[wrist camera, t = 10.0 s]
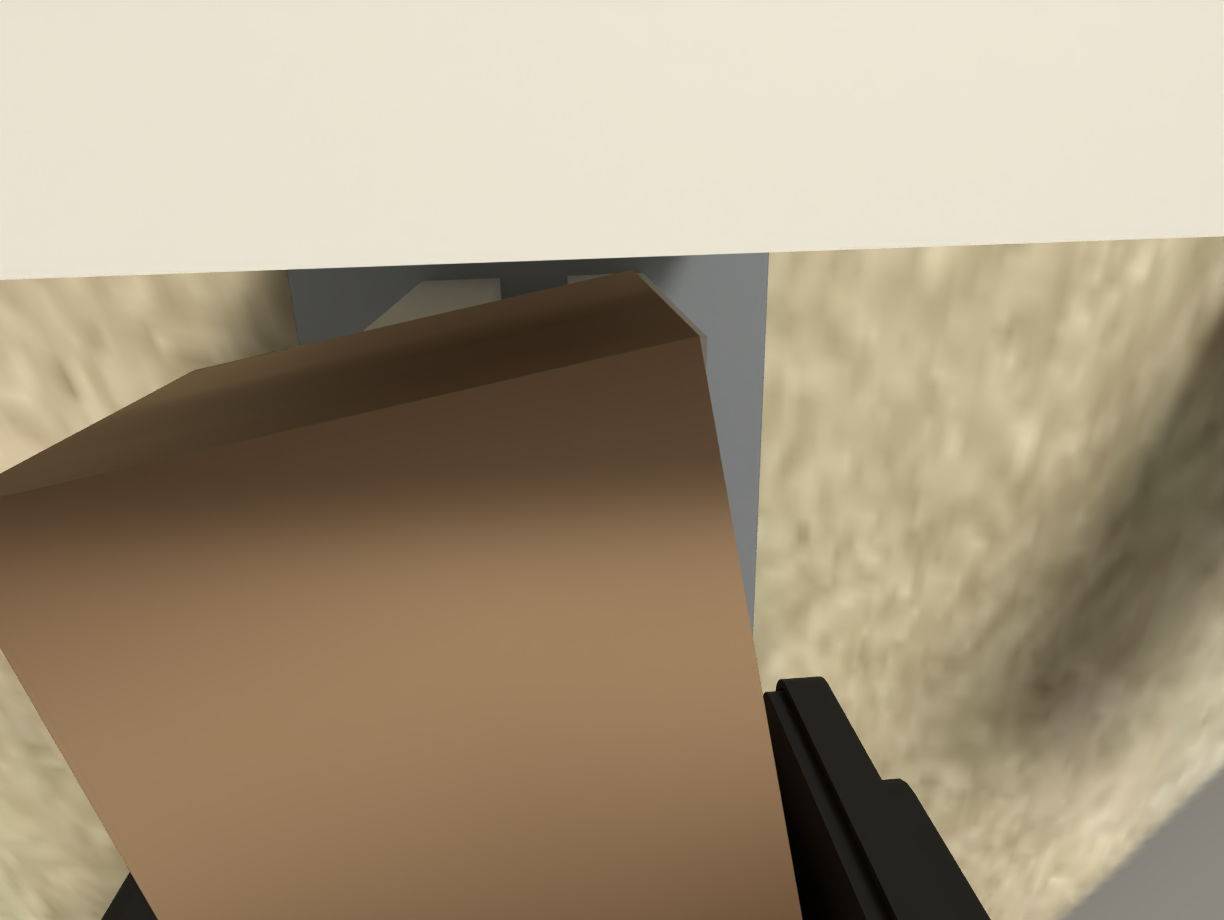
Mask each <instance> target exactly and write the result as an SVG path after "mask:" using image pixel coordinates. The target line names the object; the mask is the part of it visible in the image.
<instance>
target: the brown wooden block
mask: <svg viewBox="0 0 1224 920" xmlns="http://www.w3.org/2000/svg"><path fill="white" fill-rule="evenodd" d="M0 648H1V650H2V652H3V653H4V655H5V657H6V658H7V660H8V662H9V664H10V665H11V667H12V669H13V670H14V672H15V674H16V676H17V677H18V679H19V681H20V683H21V684H22V686H23V688H24V689H25V691H26V693H27V695H28V696H29V698H30V700H31V702H32V703H33V705H34V707H35V708H36V710H37V712H38V714H39V715H40V717H41V719H42V720H43V722H44V724H45V726H46V727H47V729H48V731H49V733H50V734H51V736H52V738H53V739H54V741H55V743H56V745H57V746H58V748H59V750H60V752H61V753H62V755H63V757H64V758H65V760H66V762H67V764H68V765H69V767H70V769H71V770H72V772H73V774H74V776H75V777H76V779H77V781H78V783H79V784H80V786H81V788H82V789H83V791H84V793H85V795H86V796H87V798H88V800H89V802H90V803H91V805H92V807H93V808H94V810H95V812H96V814H97V815H98V817H99V819H100V820H101V822H102V824H103V826H104V827H105V829H106V831H107V833H108V834H109V836H110V838H111V839H112V841H113V843H114V845H115V846H116V848H117V850H118V852H119V853H120V855H121V857H122V858H123V860H124V862H125V864H126V865H127V867H128V869H129V870H130V872H131V874H132V876H133V877H134V879H135V881H136V883H137V884H138V886H139V888H140V889H141V891H142V893H143V895H144V896H145V898H146V900H147V902H148V903H149V905H150V907H151V908H152V910H153V912H154V914H155V915H156V917H157V919H158V920H802V914H801V908H800V903H799V897H798V891H797V886H796V880H795V874H794V869H793V863H792V857H791V852H790V846H789V840H788V835H787V829H786V823H785V818H784V812H783V806H782V801H781V795H780V789H779V784H778V778H777V772H776V767H775V761H774V755H773V750H772V744H771V738H770V733H769V727H768V721H767V716H766V710H765V704H764V699H763V693H762V687H761V682H760V676H759V670H758V665H757V659H756V653H755V648H754V642H753V636H752V631H751V625H750V619H749V614H748V608H747V602H746V597H745V591H744V585H743V580H742V574H741V568H740V563H739V557H738V551H737V546H736V540H735V534H734V529H733V523H732V517H731V512H730V506H729V500H728V495H727V489H726V483H725V478H724V472H723V466H722V461H721V455H720V449H719V444H718V438H717V432H716V427H715V421H714V415H713V410H712V404H711V398H710V393H709V387H708V381H707V376H706V370H705V364H704V359H703V353H702V347H701V342H700V336H699V335H698V334H697V333H696V332H695V331H694V330H693V329H692V328H691V327H690V326H689V325H688V324H687V323H686V322H685V321H684V320H683V319H682V318H681V317H680V316H679V315H678V314H677V313H676V312H675V311H674V310H673V309H672V308H671V307H670V306H669V305H668V304H667V303H666V302H665V301H664V300H663V299H662V298H661V297H660V296H659V295H658V294H657V293H656V292H655V291H654V290H653V289H652V288H651V287H650V286H649V285H648V284H647V283H646V282H645V281H644V280H643V279H641V278H640V277H639V276H638V275H637V274H636V273H635V272H634V271H633V270H628V271H623V272H619V273H615V274H610V275H606V276H602V277H597V278H593V279H589V280H584V281H580V282H576V283H571V284H567V285H563V286H558V287H554V288H550V289H545V290H541V291H537V292H532V293H528V294H524V295H519V296H515V297H511V298H506V299H502V300H497V301H493V302H489V303H484V304H480V305H476V306H471V307H467V308H463V309H458V310H454V311H450V312H445V313H441V314H437V315H432V316H428V317H424V318H419V319H415V320H411V321H406V322H402V323H398V324H393V325H389V326H385V327H380V328H376V329H371V330H367V331H363V332H358V333H354V334H350V335H345V336H341V337H337V338H332V339H328V340H324V341H319V342H315V343H311V344H306V345H302V346H298V347H293V348H289V349H285V350H280V351H276V352H272V353H267V354H263V355H259V356H254V357H250V358H245V359H241V360H237V361H232V362H228V363H224V364H219V365H215V366H211V367H206V368H202V369H198V370H194V371H192V372H190V373H188V374H186V375H184V376H183V377H181V378H179V379H177V380H175V381H173V382H171V383H169V384H168V385H166V386H164V387H162V388H160V389H158V390H156V391H154V392H153V393H151V394H149V395H147V396H145V397H143V398H141V399H139V400H138V401H136V402H134V403H132V404H130V405H128V406H126V407H124V408H123V409H121V410H119V411H117V412H115V413H113V414H111V415H109V416H108V417H106V418H104V419H102V420H100V421H98V422H96V423H94V424H93V425H91V426H89V427H87V428H85V429H83V430H81V431H79V432H78V433H76V434H74V435H72V436H70V437H68V438H66V439H64V440H62V441H61V442H59V443H57V444H55V445H53V446H51V447H49V448H47V449H46V450H44V451H42V452H40V453H38V454H36V455H34V456H32V457H31V458H29V459H27V460H25V461H23V462H21V463H19V464H17V465H16V466H14V467H12V468H10V469H8V470H6V471H4V472H2V473H1V474H0Z"/></svg>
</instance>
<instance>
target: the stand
mask: <svg viewBox="0 0 1224 920" xmlns="http://www.w3.org/2000/svg"><path fill="white" fill-rule="evenodd" d="M1214 236H1224V0H0V280H8V279H36V278H64V277H92V276H120V275H148V274H176V273H204V272H232V271H260V270H287V275H288V281H289V287H290V293H291V299H292V304H293V310H294V316H295V322H296V328H297V334H298V340H299V346H302V345H306V344H311V343H315V342H319V341H324V340H328V339H332V338H337V337H341V336H345V335H350V334H354V333H358V332H363V331H367V330H371V329H376V328H380V327H385V326H389V325H393V324H398V323H402V322H406V321H411V320H415V319H419V318H424V317H428V316H432V315H437V314H441V313H445V312H450V311H454V310H458V309H463V308H467V307H471V306H476V305H480V304H484V303H489V302H493V301H497V300H502V299H506V298H511V297H515V296H519V295H524V294H528V293H532V292H537V291H541V290H545V289H550V288H554V287H558V286H563V285H567V284H571V283H576V282H580V281H584V280H589V279H593V278H597V277H602V276H606V275H610V274H615V273H619V272H623V271H628V270H633V271H634V272H635V273H636V274H637V275H638V276H639V277H640V278H641V279H643V280H644V281H645V282H646V283H647V284H648V285H649V286H650V287H651V288H652V289H653V290H654V291H655V292H656V293H657V294H658V295H659V296H660V297H661V298H662V299H663V300H664V301H665V302H666V303H667V304H668V305H669V306H670V307H671V308H672V309H673V310H674V311H675V312H676V313H677V314H678V315H679V316H680V317H681V318H682V319H683V320H684V321H685V322H686V323H687V324H688V325H689V326H690V327H691V328H692V329H693V330H694V331H695V332H696V333H697V334H698V335H699V336H700V342H701V347H702V353H703V359H704V364H705V370H706V376H707V381H708V387H709V393H710V398H711V404H712V410H713V415H714V421H715V427H716V432H717V438H718V444H719V449H720V455H721V461H722V466H723V472H724V478H725V483H726V489H727V495H728V500H729V506H730V512H731V517H732V523H733V529H734V534H735V540H736V546H737V551H738V557H739V563H740V568H741V574H742V580H743V585H744V591H745V597H746V602H747V608H748V614H749V619H750V625H751V631H752V636H753V621H754V598H755V574H756V550H757V526H758V502H759V478H760V454H761V430H762V406H763V382H764V358H765V334H766V310H767V286H768V262H769V252H793V251H821V250H849V249H878V248H906V247H934V246H962V245H990V244H1018V243H1046V242H1074V241H1102V240H1130V239H1158V238H1186V237H1214Z"/></svg>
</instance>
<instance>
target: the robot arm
mask: <svg viewBox="0 0 1224 920" xmlns="http://www.w3.org/2000/svg"><path fill="white" fill-rule="evenodd" d="M763 699H764V704H765V710H766V716H767V721H768V727H769V733H770V738H771V744H772V750H773V755H774V761H775V767H776V772H777V778H778V784H779V789H780V795H781V801H782V806H783V812H784V818H785V823H786V829H787V835H788V840H789V846H790V852H791V857H792V863H793V869H794V874H795V880H796V886H797V891H798V897H799V903H800V908H801V914H802V920H991V919H990V918H989V916H988V914H987V913H986V911H985V909H984V908H983V906H982V904H981V903H980V901H979V899H978V898H977V896H976V894H975V893H974V891H973V890H972V888H971V886H970V885H969V883H968V881H967V880H966V878H965V876H964V875H963V873H962V871H961V870H960V868H959V866H958V865H957V863H956V861H955V860H954V858H953V856H952V855H951V853H950V851H949V850H948V848H947V846H946V845H945V843H944V841H943V840H942V838H941V836H940V835H939V833H938V831H937V830H936V828H935V826H934V825H933V823H932V821H931V820H930V818H929V816H928V815H927V813H926V811H925V810H924V808H923V806H922V805H921V803H920V801H919V800H918V798H917V796H916V795H915V793H914V792H913V791H912V789H911V788H910V787H909V785H908V784H907V783H906V782H904V781H903V780H901V779H889V780H882V779H881V777H880V776H879V774H878V772H877V770H876V769H875V767H874V765H873V763H872V761H871V760H870V758H869V756H868V754H867V753H866V751H865V749H864V747H863V745H862V744H861V742H860V740H859V738H858V736H857V735H856V733H855V731H854V729H853V728H852V726H851V724H850V722H849V720H848V719H847V717H846V715H845V713H844V712H843V710H842V708H841V706H840V704H839V703H838V701H837V699H836V697H835V695H834V694H833V692H832V690H831V688H830V687H829V685H828V683H827V682H826V680H825V679H824V678H823V677H821V676H820V677H806V678H792V679H780V680H779V681H778V683H777V685H776V691H774V692H765V693H764V695H763ZM101 920H158V919H157V917H156V915H155V914H154V912H153V910H152V908H151V907H150V905H149V903H148V902H147V900H146V898H145V896H144V895H143V893H142V891H141V889H140V888H139V886H138V884H137V883H136V881H135V879H134V877H133V876H132V874H131V872H130V873H129V874H128V876H127V878H126V879H125V881H124V883H123V884H122V886H121V888H120V889H119V891H118V893H117V894H116V896H115V898H114V899H113V901H112V903H111V904H110V906H109V908H108V909H107V911H106V913H105V914H104V916H103V918H102V919H101Z"/></svg>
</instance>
